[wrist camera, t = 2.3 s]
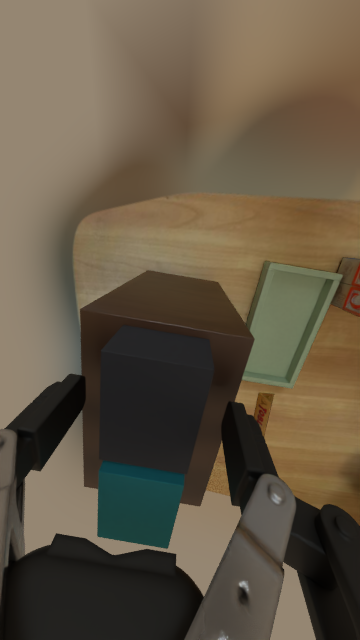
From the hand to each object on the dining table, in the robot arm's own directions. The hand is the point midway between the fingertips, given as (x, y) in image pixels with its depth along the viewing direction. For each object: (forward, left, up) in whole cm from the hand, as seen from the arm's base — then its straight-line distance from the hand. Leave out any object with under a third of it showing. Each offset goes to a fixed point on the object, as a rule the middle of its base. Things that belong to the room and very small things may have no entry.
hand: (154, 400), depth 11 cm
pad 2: (+8, 0, -2) cm, 8 cm away
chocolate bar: (+19, +18, -20) cm, 33 cm away
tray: (+1, +15, -20) cm, 25 cm away
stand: (+4, 0, -20) cm, 20 cm away
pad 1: (0, 0, -2) cm, 2 cm away
